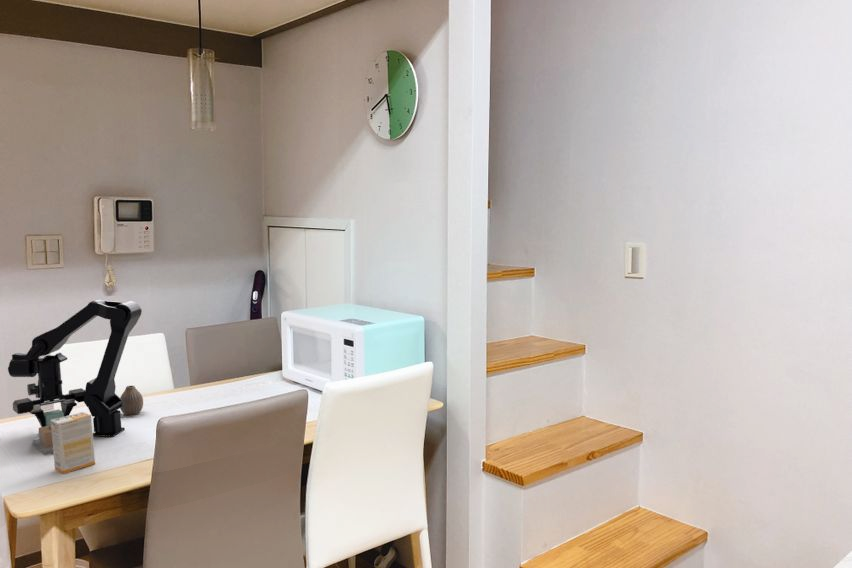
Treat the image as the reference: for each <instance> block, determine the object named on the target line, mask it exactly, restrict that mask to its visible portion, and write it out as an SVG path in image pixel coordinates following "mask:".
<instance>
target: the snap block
mask: <svg viewBox="0 0 852 568" xmlns="http://www.w3.org/2000/svg"><path fill="white" fill-rule="evenodd" d="M60 417H64V413H63V412H62V410H61V409H53V410H49V411H44V418H45V424H46V426H49V425H51V421H50V420H52V419H56V418H60Z"/></svg>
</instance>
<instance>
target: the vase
mask: <svg viewBox="0 0 852 568" xmlns="http://www.w3.org/2000/svg"><path fill="white" fill-rule="evenodd" d="M119 398H120V399H122V400H123V405H122V408H120V409H119V410H120V412H121V413H122V414H124V415H125V416H135V415H138V414H140V413H141V412H142V409H143V407H144V397H143V396H142V393H141V392H140V391H139V390H138V389H137V388H136V387H135V385H127V386H125V389H124V391H123V392H122V393H121V395H120V396H119Z"/></svg>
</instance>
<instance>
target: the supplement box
mask: <svg viewBox="0 0 852 568" xmlns="http://www.w3.org/2000/svg"><path fill="white" fill-rule="evenodd" d="M50 421H51V432H52V442H53V453H52V454H53V460H54V469H55V471H57V472H59V473H61V474H68V473H70V472H73V471H76V470H79V469H83V468H86V467H90V466H93V465H95V464H96V458H95V446H94V445H95V443H94V436H93V433H94V431H93V419H92V415H91V414H89V413H87V412H84V411H81V412H77V413H73V414H69V415H68V416H64V417H60V418H56V419H52V420H50Z"/></svg>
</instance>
